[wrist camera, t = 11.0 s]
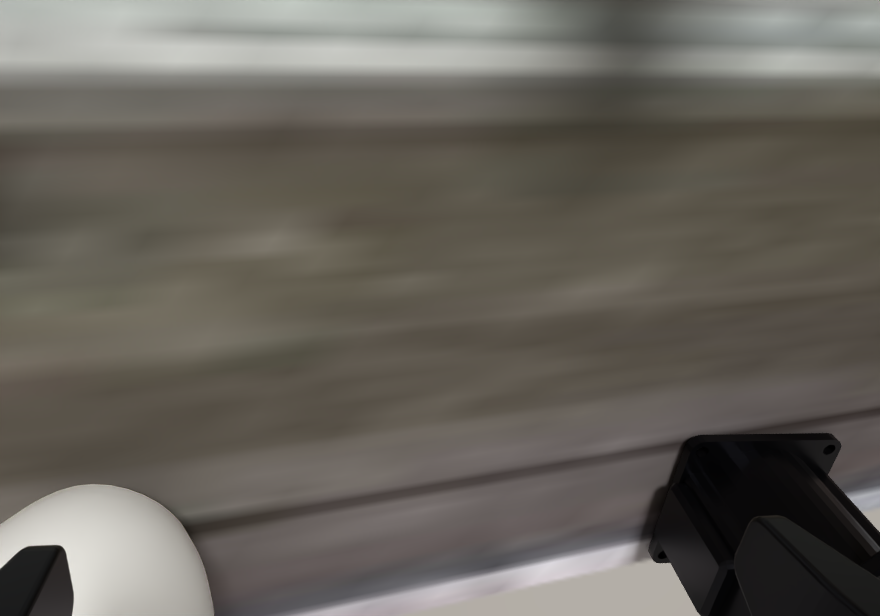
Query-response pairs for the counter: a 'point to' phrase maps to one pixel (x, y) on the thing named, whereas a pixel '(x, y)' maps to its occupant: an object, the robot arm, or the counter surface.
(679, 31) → the counter surface
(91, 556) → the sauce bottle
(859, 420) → the counter surface
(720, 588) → the robot arm
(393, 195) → the counter surface
